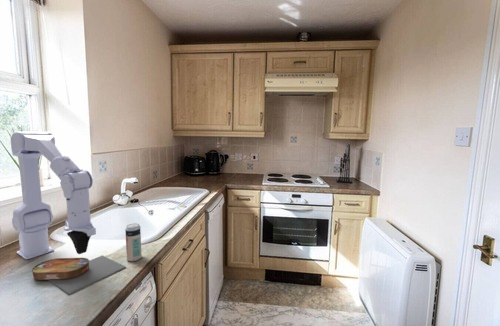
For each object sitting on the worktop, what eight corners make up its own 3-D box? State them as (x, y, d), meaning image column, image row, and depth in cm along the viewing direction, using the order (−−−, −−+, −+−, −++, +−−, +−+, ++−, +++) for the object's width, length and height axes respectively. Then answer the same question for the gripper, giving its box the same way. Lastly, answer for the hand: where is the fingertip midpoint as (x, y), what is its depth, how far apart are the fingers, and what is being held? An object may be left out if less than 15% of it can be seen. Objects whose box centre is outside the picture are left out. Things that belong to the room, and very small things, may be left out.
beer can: (132, 254, 87) (131, 222, 86) (144, 256, 86) (143, 223, 85) (123, 261, 82) (121, 227, 81) (135, 262, 81) (134, 228, 80)
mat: (46, 278, 72) (46, 277, 72) (102, 256, 86) (102, 255, 86) (69, 295, 65) (68, 293, 65) (125, 267, 78) (125, 266, 78)
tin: (94, 257, 79) (77, 269, 70) (95, 266, 79) (77, 280, 71) (47, 258, 78) (23, 270, 70) (47, 267, 78) (24, 281, 70)
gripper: (52, 210, 75) (56, 251, 76) (75, 218, 67) (79, 264, 69) (78, 204, 81) (81, 243, 82) (101, 211, 74) (104, 254, 75)
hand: (81, 252), depth 76 cm, fingers closed
